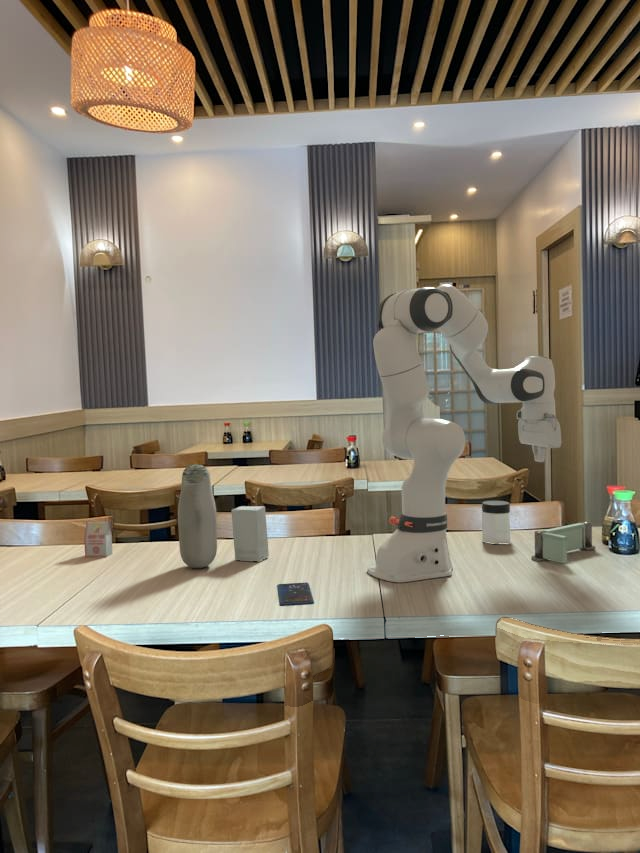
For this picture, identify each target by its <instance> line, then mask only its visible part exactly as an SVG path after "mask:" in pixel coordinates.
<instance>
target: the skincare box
mask: <svg viewBox="0 0 640 853" xmlns="http://www.w3.org/2000/svg"><path fill="white" fill-rule="evenodd" d="M231 520H232V535H233V536H232V537H233V547H234V548H233V549H234V551H233V552H234V561H236V560H240V562H253V561H257V562H256V563H259V562H262V561H264V560H266V559H265V558H267V557H268V556H270V554H269V541H268V529H267V513H266V506H264V505H262V506H261V505H260V506H259V505H258V506H255V505H254V506H253V505H252V506H249V505H247V506H246V505H241V506H238V507H235V508H232V509H231ZM268 558H269V557H268ZM268 558H267V559H268ZM263 559H264V560H263ZM261 560H262V561H261Z"/></svg>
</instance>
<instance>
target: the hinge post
mask: <svg viewBox="0 0 640 853" xmlns="http://www.w3.org/2000/svg"><path fill="white" fill-rule="evenodd" d="M581 523H583V524H585V547H584V548H581V549H580V550H582V549H585V550H584V551H595V550H596V546H595V545H593V523H592V521H581ZM594 549H595V550H594Z"/></svg>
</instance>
